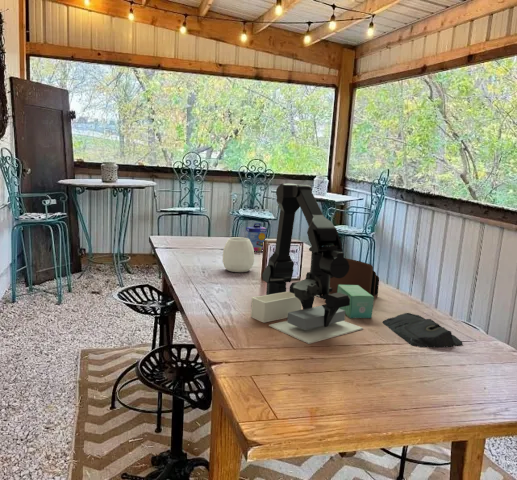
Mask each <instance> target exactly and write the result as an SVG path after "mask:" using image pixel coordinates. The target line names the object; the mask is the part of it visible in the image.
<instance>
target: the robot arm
mask: <svg viewBox="0 0 517 480" xmlns="http://www.w3.org/2000/svg"><path fill="white" fill-rule="evenodd" d="M275 195H276V203H277V205H278V207H279V209H280V211H279V216H278V217H279V218H278V225H277V226H278V227H277V233H276V242H275V249H274V252H273V253H272V255H270V257H269V259H268V262H267V265H266V268H265V269H264V271H263V272H262V281H264V282H265V283H266V293H265V295H270V294H276V293H282V292H287V283H291V284H290V285H289V290H288V291H289V292H291V293H293V294H295V297H297V298H298V299H299V300H300V301H301V308H302V309H307V308H312V307H314V306H313V305H314V302H315V297H317V298H319V299H323V300H325V301H324V302H325V304H321V306H323V308H324V310H325V312H324V327H327V326H328V325H329V323H330V322H331V320H332V318H333V316H334V315H335V313H336V312H337V310H338V309H340V307H345V306H349V305H350V298H349V296H348V295H345V294H342V293H333V294H329V292H332V288H330V287H329V286H330V278H333V277H335V278H342V277H344V276H345V275H346V274H347V273H348V271H349V263H348V261H347V260H346V259H345V256H344V255H345V254H344V252H343V250H344V249H343V244H342V242H341V238H340V236H339V232H338V229H337V228H336V226H335V225H334V224H333V222H332V221H331V220H329V219H328V218H326V216H325V215H324V214H323V211H322V210H321V207H320V206H319V204H318V201H317V200H316V197H315V195H314V193H313V188H312V186H311V185H309V184H300V183H280V185H278V186H277V187H276V189H275ZM299 208H300V209H301V212H302V213H303V216H304V218H305V220H306V223H307V225H308V227H307V231H306V234H307V238H308V241H309V243H310V245H311V246H310V247H309V248H308V251H309V252H311V258H310V268H309V269H310V270H309V271H307V272H306V275H305V278H304V279H302V280H300V281H296V282H295V281H294V282H292V278H293V274H294V265H295V262H294V261H293V260H292V258H291V256H290V254H291V253H290V252H291V245H292V238H293V231H294V223H295V217H296V212H298V210H299Z"/></svg>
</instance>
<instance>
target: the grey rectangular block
mask: <svg viewBox="0 0 517 480" xmlns="http://www.w3.org/2000/svg"><path fill="white" fill-rule="evenodd" d="M324 312H325V310H324V308H323V306H322V305H318V306H312V308H307V309H303V308H301V310H298V311H293V312H288V318H286V319H287V320H286V321H287V323H290V324H292V325H295V326H297V327H299V328H302V329H304V330H307V329H312V328H316V327H320V326H324ZM345 319H346V314H345V310H342V309H340V308H339V309H338V310H337V312H336V313H335V315H334V316H333V318H332V320H331V322H330V323H329V324H332V323H336V322H340V321H345Z"/></svg>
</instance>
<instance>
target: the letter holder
mask: <svg viewBox="0 0 517 480" xmlns="http://www.w3.org/2000/svg"><path fill="white" fill-rule="evenodd" d="M344 258H345V257H344ZM345 259H346V260H347V261H348V263H349V271H348V273H347V274H346V275H345V276H344V277H342V278H335V277H333V278H330V286H329V287H330V288H332V292H329V294H333V293H337V291H338V285H358V286H360V287H361V288H362V289H364V290H365V291H367V292H368V293H369V294H371V295H372V296H373V297H374V300H375V299H376V298H378V295H379V283H380V277H379V276H378V275H377V272H376V271H375V270H374V267H373V265H372V264H371V263H366V262H363V261H360V260H355V259H351V258H345Z"/></svg>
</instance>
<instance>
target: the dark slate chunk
mask: <svg viewBox="0 0 517 480" xmlns="http://www.w3.org/2000/svg"><path fill="white" fill-rule="evenodd" d="M382 324H384V326H386V327H387V328H388V329H389V330H391V331H392V332H393V333H395V334H396V335H397V336H399V338H401V339H402V340H404V341H405V342H406V343H407V344H409V345H410V346H413V347H415V346H416V347H418V348H437V349H438V348H439V349H440V348H443V349H444V348H451V347H458V346H462V345H463V341H462V340H461V339H460V338H458V337H456V336H455V335H454V334H452V331H451V330H449V329H446V328H445V327H443V326H442V325H440V324H439V323H437V322H436V321H435V320H433V319H431V318H425V317H423V316H421V315H419V314H414V313H411V312H405V313H402V314H398V315H396V316H394V317H393V316H392V317H388V318H387V319H384V320H382Z"/></svg>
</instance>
